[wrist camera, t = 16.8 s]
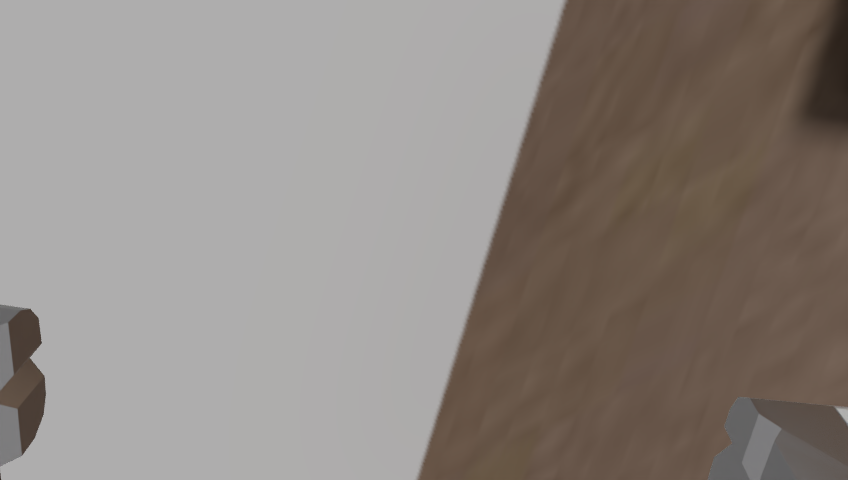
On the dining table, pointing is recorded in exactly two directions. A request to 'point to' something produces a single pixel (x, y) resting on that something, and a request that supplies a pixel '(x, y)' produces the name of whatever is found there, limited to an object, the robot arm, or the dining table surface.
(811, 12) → the dining table surface
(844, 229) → the dining table surface
